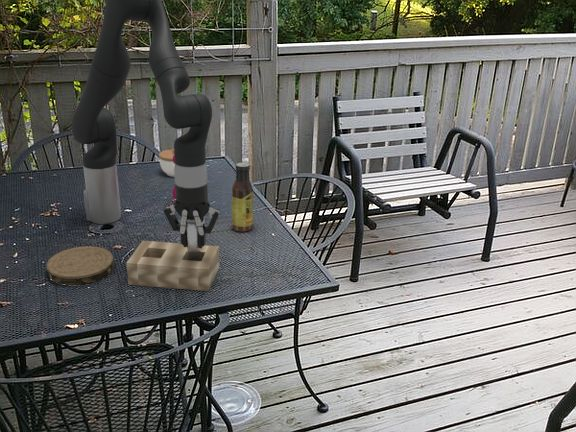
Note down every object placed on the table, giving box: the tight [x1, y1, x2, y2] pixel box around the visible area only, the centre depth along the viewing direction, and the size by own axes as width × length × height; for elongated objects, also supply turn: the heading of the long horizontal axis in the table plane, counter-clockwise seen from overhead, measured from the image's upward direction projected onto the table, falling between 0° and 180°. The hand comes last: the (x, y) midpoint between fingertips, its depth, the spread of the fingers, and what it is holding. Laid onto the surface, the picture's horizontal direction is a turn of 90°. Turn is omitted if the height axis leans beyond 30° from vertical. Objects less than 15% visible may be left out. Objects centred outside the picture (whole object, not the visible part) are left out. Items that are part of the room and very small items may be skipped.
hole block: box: [126, 240, 220, 292], centre depth 145 cm, size 20×12×6 cm, turn 84°
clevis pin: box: [186, 219, 201, 261], centre depth 141 cm, size 4×4×12 cm
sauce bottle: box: [231, 162, 254, 233], centre depth 168 cm, size 7×6×20 cm
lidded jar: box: [158, 148, 175, 178], centre depth 210 cm, size 11×11×9 cm
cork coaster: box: [46, 245, 115, 286], centre depth 147 cm, size 16×16×3 cm
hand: (193, 246), depth 142 cm, fingers closed on clevis pin, 3 cm apart
